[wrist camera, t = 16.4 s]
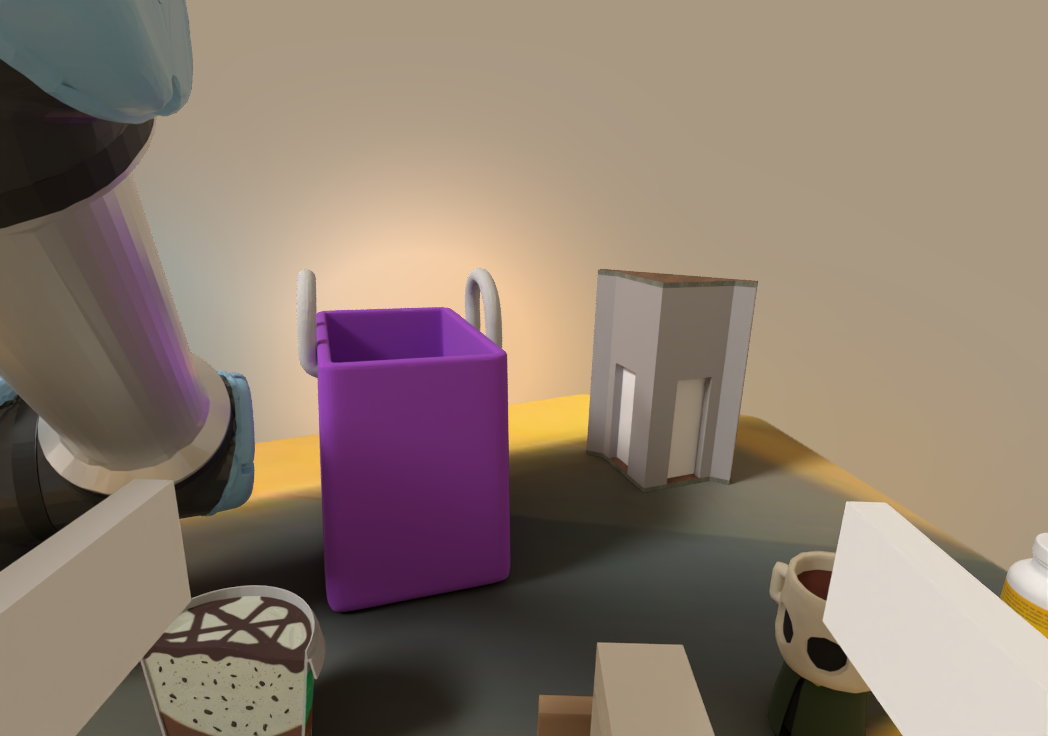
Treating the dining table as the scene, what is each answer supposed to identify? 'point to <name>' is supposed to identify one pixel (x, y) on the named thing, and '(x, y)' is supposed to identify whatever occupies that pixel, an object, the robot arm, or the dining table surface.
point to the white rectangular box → (646, 692)
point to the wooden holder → (564, 715)
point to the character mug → (812, 656)
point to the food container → (237, 665)
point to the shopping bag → (410, 446)
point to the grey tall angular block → (668, 375)
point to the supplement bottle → (1030, 586)
